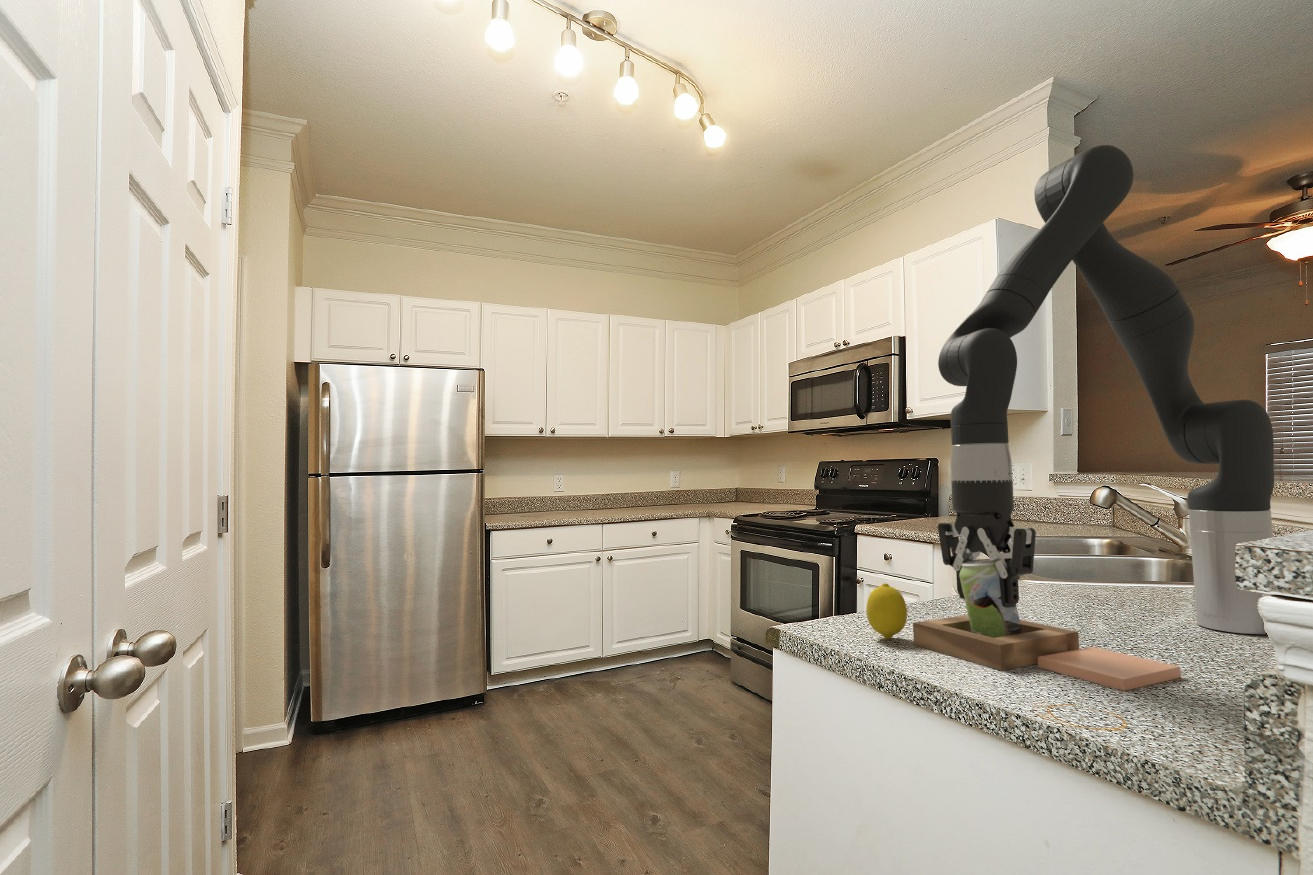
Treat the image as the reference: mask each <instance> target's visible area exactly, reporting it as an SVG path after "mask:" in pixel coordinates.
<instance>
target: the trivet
mask: <svg viewBox="0 0 1313 875" xmlns="http://www.w3.org/2000/svg"><path fill="white" fill-rule="evenodd" d="M1037 667H1038V668H1040V669H1044V670H1047V671H1051V672H1055V673H1059V674H1062V675H1065V676H1070V677H1073V678H1077V679H1081V680H1085V681H1088V682H1091V683H1095V684H1097V685H1098V684H1099V685H1102V686H1106V687H1110V688H1113V689H1116V690H1119V691H1120V690H1121V691H1123V692H1125V691H1130V690H1132V689H1133V690H1134V689H1138V688H1142V687H1146V686H1150V685H1154V684H1159V683H1163V682H1167V681H1171V680H1177V679H1181V678H1182V676H1181V674H1182V672H1181V666H1179V665H1173V664H1169V663H1164V662H1162V661H1161V662H1160V661H1155V660H1151V659H1147V658H1143V657H1139V656H1134V655H1130V654H1126V653H1121V652H1117V651H1111V650H1108V649H1104V648H1099V647H1095V646H1090V647H1083V648H1079V649H1078V650H1072V651H1067V652H1062V653H1056V654H1051V655H1046V656H1040V657H1038V664H1037Z"/></svg>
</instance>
